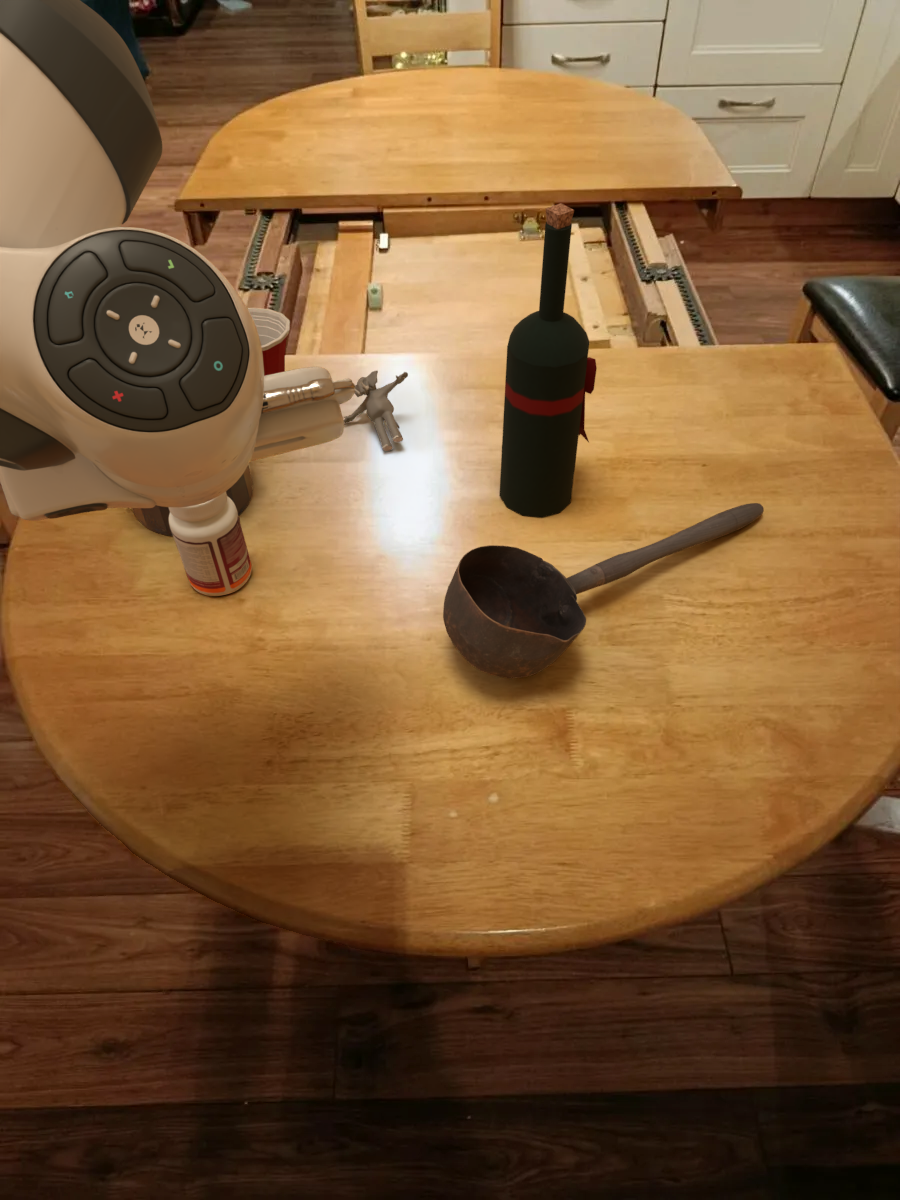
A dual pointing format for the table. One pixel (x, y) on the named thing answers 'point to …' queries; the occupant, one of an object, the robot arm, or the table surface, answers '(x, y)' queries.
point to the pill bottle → (211, 545)
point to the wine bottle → (545, 389)
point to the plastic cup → (271, 338)
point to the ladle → (545, 597)
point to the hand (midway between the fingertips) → (184, 461)
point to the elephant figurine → (378, 407)
